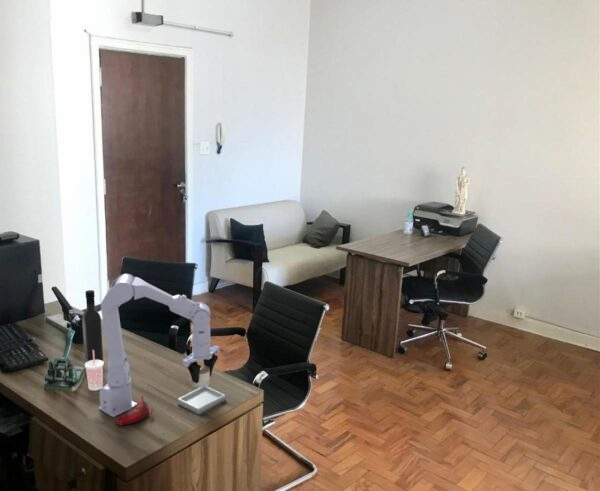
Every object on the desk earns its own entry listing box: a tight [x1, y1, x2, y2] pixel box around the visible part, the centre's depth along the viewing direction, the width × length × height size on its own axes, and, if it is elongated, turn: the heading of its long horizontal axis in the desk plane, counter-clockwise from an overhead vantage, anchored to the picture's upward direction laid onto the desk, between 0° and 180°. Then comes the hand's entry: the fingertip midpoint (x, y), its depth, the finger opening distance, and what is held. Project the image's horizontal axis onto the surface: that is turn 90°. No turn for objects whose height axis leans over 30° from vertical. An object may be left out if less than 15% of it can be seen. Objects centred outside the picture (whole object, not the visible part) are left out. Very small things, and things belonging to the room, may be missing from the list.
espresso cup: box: [193, 364, 211, 388], centre depth 180 cm, size 5×5×6 cm
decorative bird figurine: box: [115, 395, 154, 426], centre depth 174 cm, size 3×18×10 cm
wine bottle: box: [81, 289, 104, 368], centre depth 199 cm, size 6×6×30 cm
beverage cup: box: [84, 350, 105, 391], centre depth 188 cm, size 6×6×14 cm
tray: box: [177, 386, 226, 416], centre depth 182 cm, size 12×10×2 cm
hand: (201, 378), depth 180 cm, fingers closed on espresso cup, 5 cm apart
